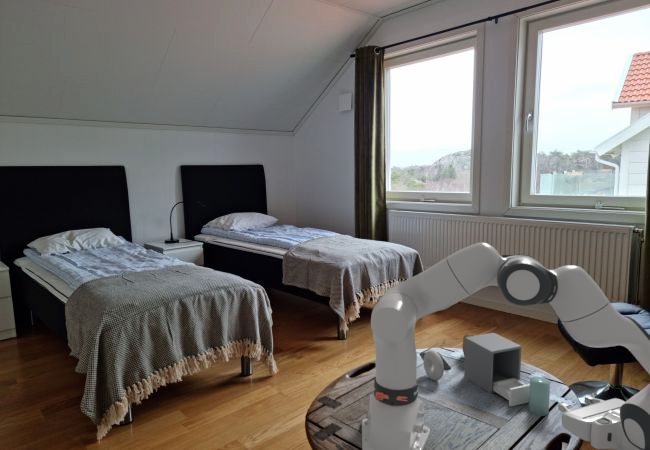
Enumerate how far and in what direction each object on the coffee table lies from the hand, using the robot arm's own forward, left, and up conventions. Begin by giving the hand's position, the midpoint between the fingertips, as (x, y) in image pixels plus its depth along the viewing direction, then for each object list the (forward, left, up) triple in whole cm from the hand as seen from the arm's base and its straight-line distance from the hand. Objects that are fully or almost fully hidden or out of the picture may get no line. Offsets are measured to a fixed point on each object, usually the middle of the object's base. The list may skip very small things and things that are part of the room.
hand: (573, 402), depth 123 cm
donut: (+22, +38, -9) cm, 45 cm away
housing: (+25, +19, -8) cm, 33 cm away
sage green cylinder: (+9, +7, -8) cm, 14 cm away
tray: (+17, +13, -8) cm, 23 cm away
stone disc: (+41, +25, -9) cm, 49 cm away
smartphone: (+37, +38, -9) cm, 54 cm away
